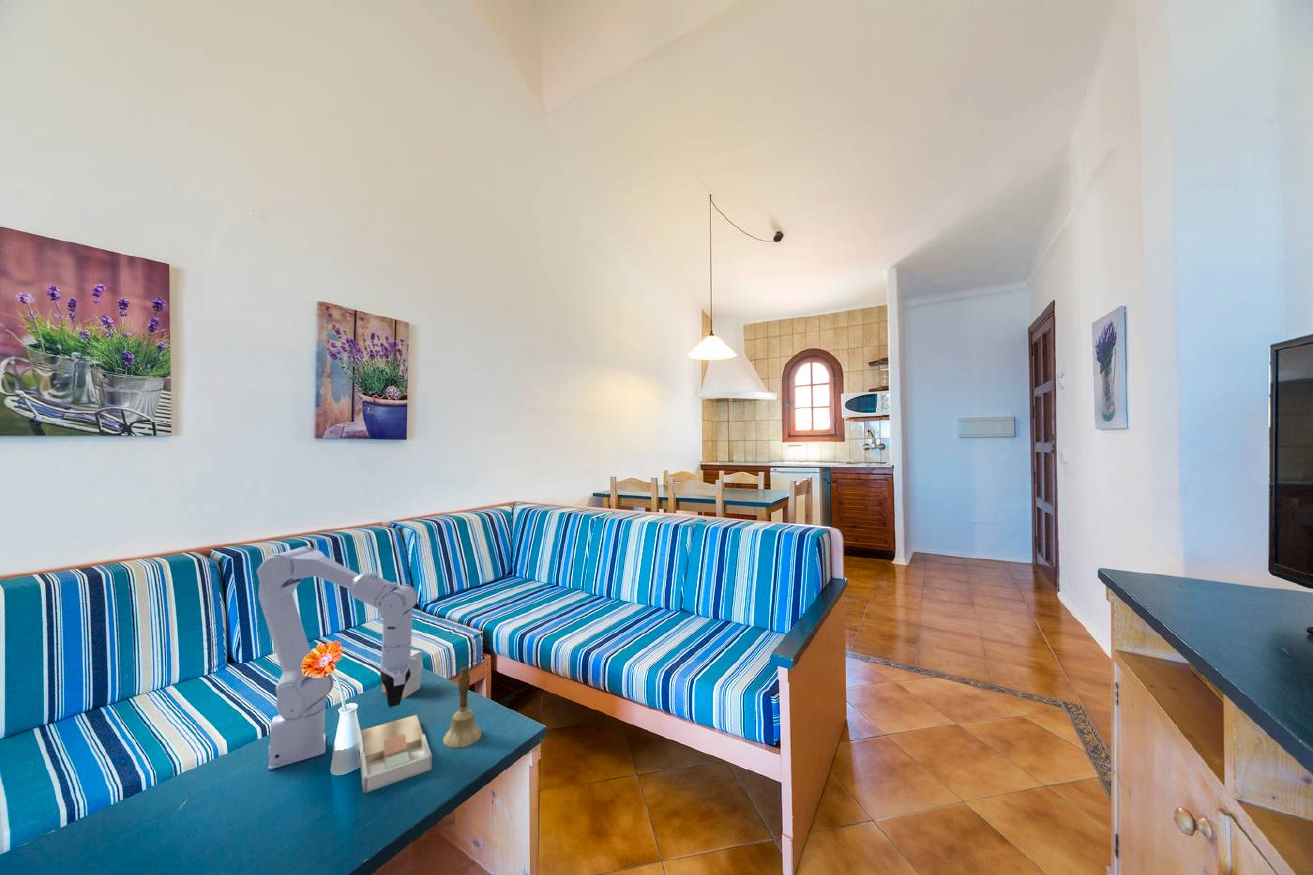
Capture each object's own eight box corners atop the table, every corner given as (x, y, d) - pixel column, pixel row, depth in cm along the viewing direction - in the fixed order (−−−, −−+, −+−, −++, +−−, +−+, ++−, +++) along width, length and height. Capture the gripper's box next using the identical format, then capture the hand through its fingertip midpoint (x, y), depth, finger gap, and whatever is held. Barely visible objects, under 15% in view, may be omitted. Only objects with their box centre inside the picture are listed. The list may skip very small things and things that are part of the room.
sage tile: (386, 781, 91) (387, 768, 91) (384, 769, 94) (385, 757, 94) (409, 773, 93) (410, 760, 93) (406, 761, 96) (407, 749, 97)
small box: (381, 693, 124) (383, 654, 125) (398, 683, 130) (400, 646, 130) (404, 698, 122) (406, 658, 123) (420, 688, 127) (422, 650, 128)
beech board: (360, 767, 95) (361, 757, 95) (357, 740, 104) (358, 731, 104) (424, 746, 102) (424, 737, 102) (416, 723, 111) (416, 714, 111)
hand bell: (449, 753, 100) (452, 679, 101) (438, 735, 107) (441, 666, 107) (486, 739, 106) (489, 669, 106) (474, 722, 112) (477, 656, 113)
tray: (363, 793, 88) (363, 778, 88) (360, 767, 95) (361, 753, 95) (431, 769, 95) (432, 755, 95) (424, 746, 102) (424, 734, 102)
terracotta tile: (384, 765, 94) (385, 755, 94) (382, 750, 98) (383, 740, 97) (406, 758, 97) (407, 748, 96) (403, 744, 100) (404, 734, 100)
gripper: (422, 650, 98) (419, 714, 98) (412, 628, 110) (409, 686, 109) (384, 658, 94) (381, 725, 94) (378, 634, 106) (375, 694, 105)
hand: (394, 704), depth 101 cm, fingers closed
